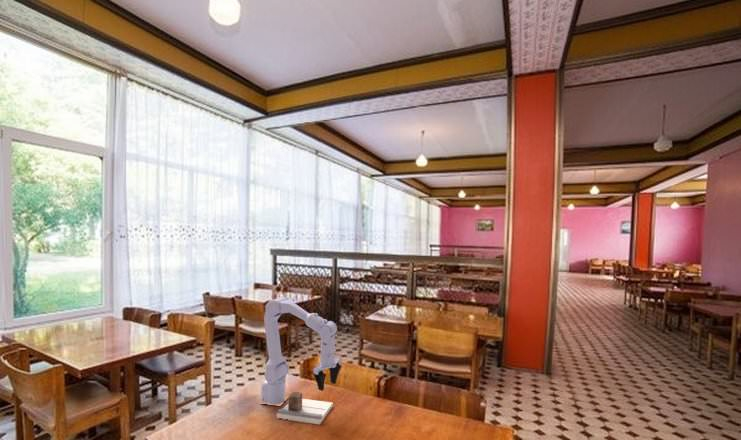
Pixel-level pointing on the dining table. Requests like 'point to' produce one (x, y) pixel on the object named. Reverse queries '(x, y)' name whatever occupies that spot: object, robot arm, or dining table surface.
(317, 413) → the board
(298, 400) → the block
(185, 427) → the dining table surface
